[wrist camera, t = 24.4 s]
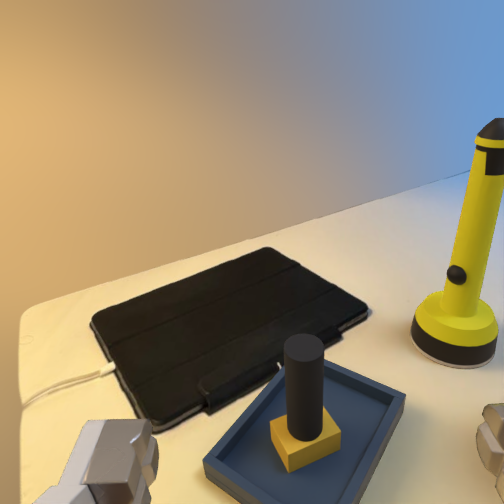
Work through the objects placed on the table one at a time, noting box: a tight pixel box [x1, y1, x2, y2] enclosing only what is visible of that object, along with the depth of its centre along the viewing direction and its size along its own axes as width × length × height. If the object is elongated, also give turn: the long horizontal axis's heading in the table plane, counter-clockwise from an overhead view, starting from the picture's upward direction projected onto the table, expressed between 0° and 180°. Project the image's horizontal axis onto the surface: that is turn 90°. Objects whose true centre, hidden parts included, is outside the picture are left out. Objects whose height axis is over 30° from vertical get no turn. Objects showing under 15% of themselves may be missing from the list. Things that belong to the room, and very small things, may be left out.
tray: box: [202, 359, 406, 504], centre depth 36 cm, size 16×12×2 cm
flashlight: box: [410, 118, 504, 369], centre depth 41 cm, size 25×9×9 cm
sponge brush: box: [270, 334, 341, 473], centre depth 33 cm, size 5×4×12 cm
